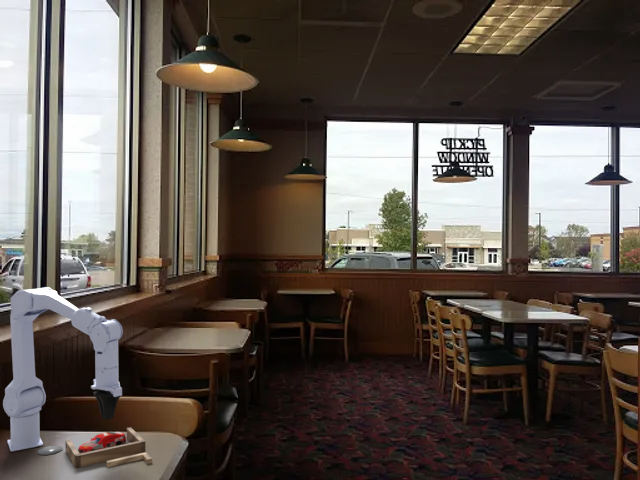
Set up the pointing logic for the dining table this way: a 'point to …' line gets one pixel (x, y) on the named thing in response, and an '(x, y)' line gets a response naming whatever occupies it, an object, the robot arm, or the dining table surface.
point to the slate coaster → (50, 450)
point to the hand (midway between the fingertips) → (107, 418)
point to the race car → (103, 442)
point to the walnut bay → (106, 451)
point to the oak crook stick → (129, 459)
